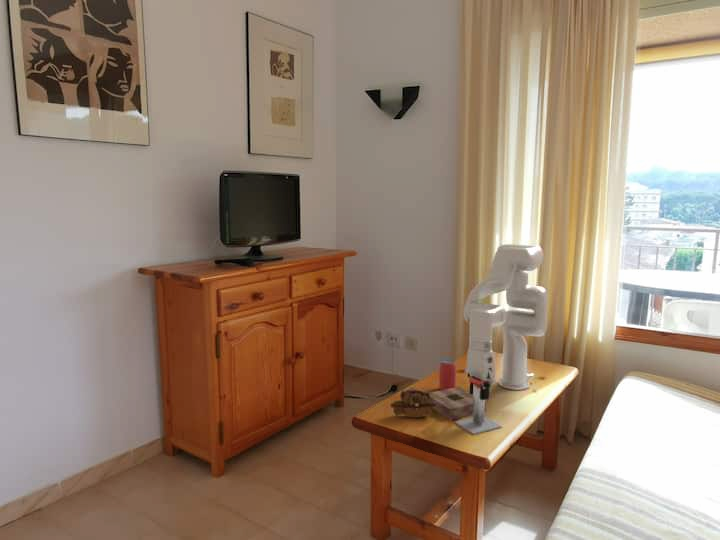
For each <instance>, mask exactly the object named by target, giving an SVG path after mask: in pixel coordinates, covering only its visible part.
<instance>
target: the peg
mask: <svg viewBox="0 0 720 540" xmlns="http://www.w3.org/2000/svg"><path fill="white" fill-rule="evenodd" d="M468 382H469V384H470V383H472V384H473V415H472V417H471V418H472V421H473V422H475V423H483V422H484V416H485V415H486V414H485V401H486V400H481V399H480V392H481V388H482V385H483V382H482V381H481V380H480V379H478V378H476V377H474V376H473V377H472V376H470V377H468ZM486 383H488V381H485V384H486ZM485 417H486V416H485Z"/></svg>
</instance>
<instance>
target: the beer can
mask: <svg viewBox="0 0 720 540" xmlns="http://www.w3.org/2000/svg"><path fill="white" fill-rule="evenodd" d="M438 373H439V375H438V377H439V378H438V389H439V391H441V390H446V389H451V388H456V384H457V383H456V380H457V378H456V377H457V366H456V361H455V360H453V359H448V358H447V359H446V358H445V359H441V360H440V364H439V371H438Z"/></svg>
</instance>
